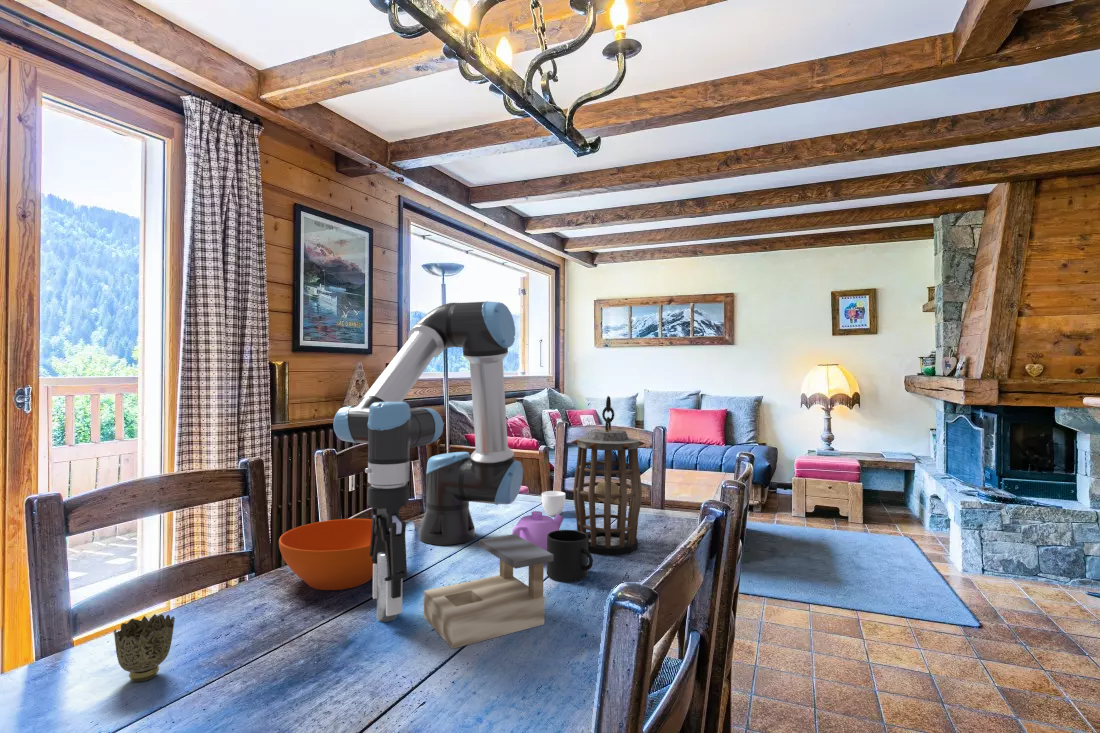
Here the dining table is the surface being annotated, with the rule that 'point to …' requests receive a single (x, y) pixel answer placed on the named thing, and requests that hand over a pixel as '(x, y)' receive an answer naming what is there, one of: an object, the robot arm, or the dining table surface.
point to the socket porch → (491, 596)
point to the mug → (568, 555)
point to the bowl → (330, 553)
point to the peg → (382, 588)
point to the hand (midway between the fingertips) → (386, 604)
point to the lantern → (608, 489)
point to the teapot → (537, 528)
